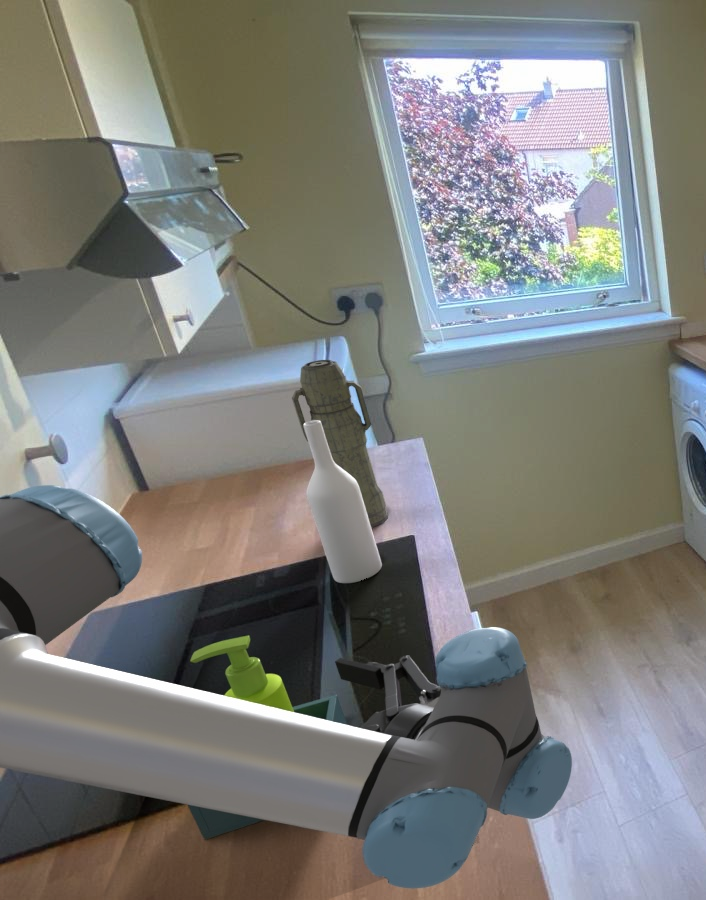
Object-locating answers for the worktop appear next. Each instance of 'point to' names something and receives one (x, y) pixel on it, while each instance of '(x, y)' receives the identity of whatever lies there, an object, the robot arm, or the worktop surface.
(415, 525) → the worktop surface
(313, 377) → the olive amphora vase
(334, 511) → the bottle
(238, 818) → the tub
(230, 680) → the soap dispenser
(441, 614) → the worktop surface
